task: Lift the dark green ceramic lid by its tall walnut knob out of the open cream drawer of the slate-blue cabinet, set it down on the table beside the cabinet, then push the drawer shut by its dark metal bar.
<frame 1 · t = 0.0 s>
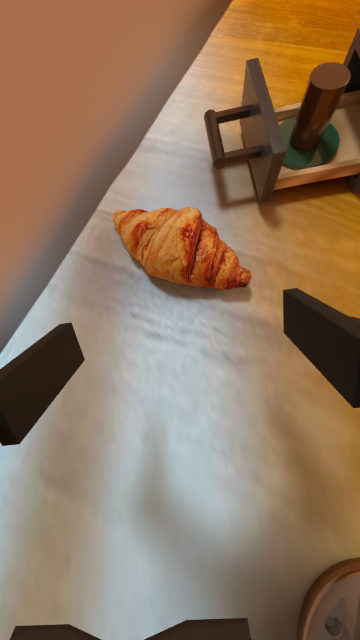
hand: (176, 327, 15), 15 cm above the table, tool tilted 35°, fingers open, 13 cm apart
lid: (302, 144, 32), point 2 cm above the table, touching drawer
drawer: (303, 124, 30), point 5 cm above the table, slide at 11.0 cm, touching lid
croissant: (179, 254, 33), on the table
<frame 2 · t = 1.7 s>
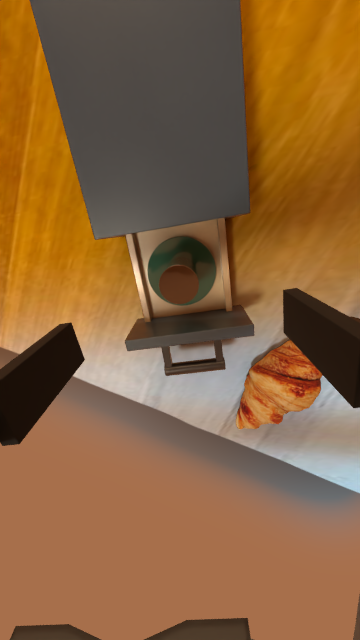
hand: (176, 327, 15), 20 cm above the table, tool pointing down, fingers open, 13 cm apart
lid: (181, 272, 31), point 2 cm above the table, touching drawer
cabinet: (163, 145, 27), on the table
drawer: (182, 284, 28), point 5 cm above the table, slide at 11.0 cm, touching lid
croissant: (272, 374, 38), on the table
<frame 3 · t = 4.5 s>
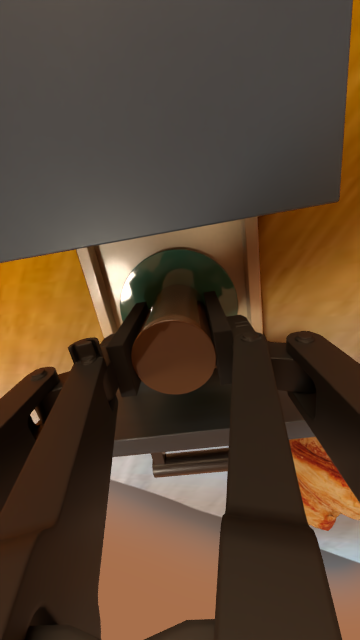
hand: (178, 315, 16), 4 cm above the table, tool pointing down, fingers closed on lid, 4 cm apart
lid: (178, 308, 18), point 2 cm above the table, touching drawer, gripper
cabinet: (141, 82, 15), on the table
drawer: (179, 335, 16), point 5 cm above the table, slide at 11.0 cm, touching lid
croissant: (315, 446, 26), on the table
when the fingers open (2 cm above the table, at t = 9.8 s): lid stays where it is, on the table.
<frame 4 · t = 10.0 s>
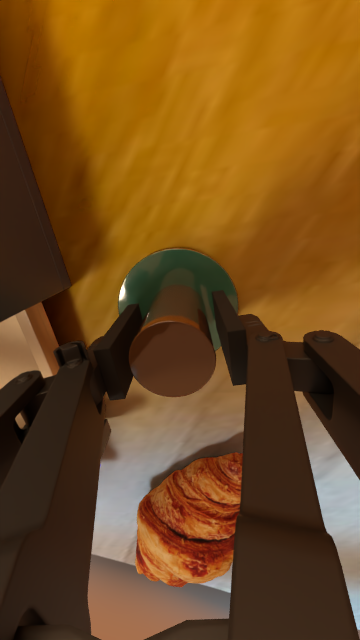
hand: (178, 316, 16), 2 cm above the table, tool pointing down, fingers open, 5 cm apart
lid: (178, 308, 18), on the table
croissant: (184, 495, 26), on the table
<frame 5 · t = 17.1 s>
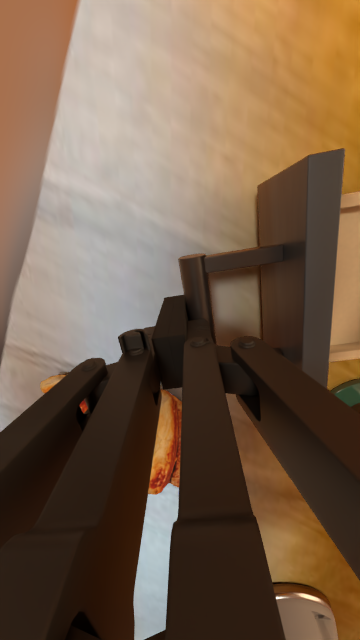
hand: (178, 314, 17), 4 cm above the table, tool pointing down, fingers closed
lid: (357, 413, 24), on the table
croissant: (148, 411, 25), on the table
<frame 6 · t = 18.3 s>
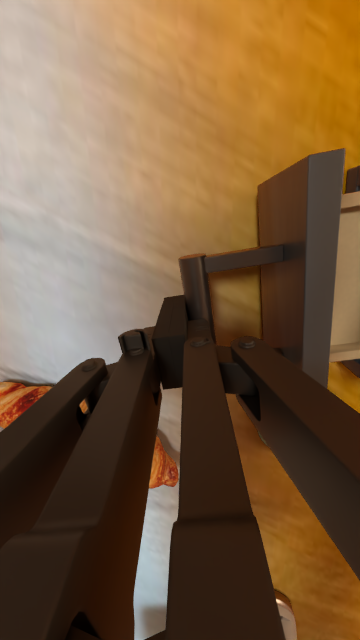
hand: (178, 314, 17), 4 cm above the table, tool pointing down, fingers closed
croissant: (95, 417, 26), on the table
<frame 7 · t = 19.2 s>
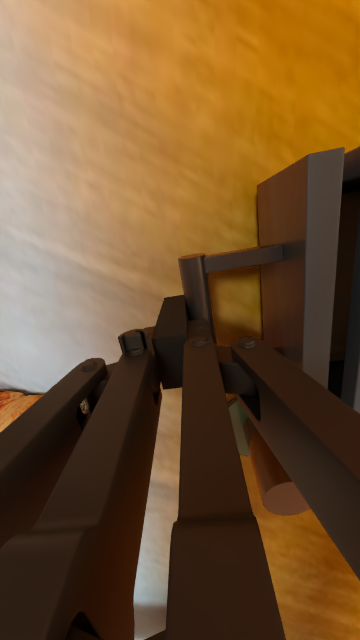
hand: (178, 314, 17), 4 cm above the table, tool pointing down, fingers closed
lid: (260, 423, 25), on the table
croissant: (61, 421, 26), on the table
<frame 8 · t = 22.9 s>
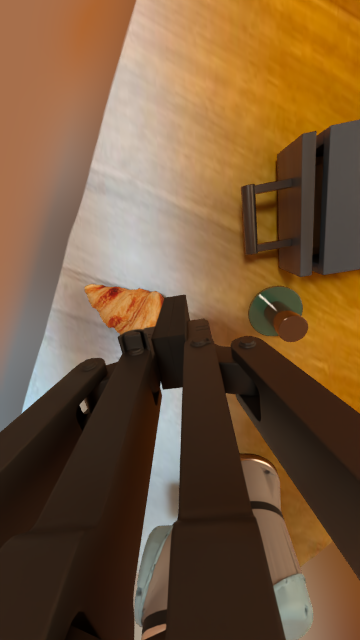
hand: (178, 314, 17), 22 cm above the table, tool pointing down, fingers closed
lid: (274, 311, 40), on the table
cabinet: (357, 201, 34), on the table
drawer: (339, 205, 29), point 5 cm above the table, slide at 0.8 cm
croissant: (147, 313, 41), on the table
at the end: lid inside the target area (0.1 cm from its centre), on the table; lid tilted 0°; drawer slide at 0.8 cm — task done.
